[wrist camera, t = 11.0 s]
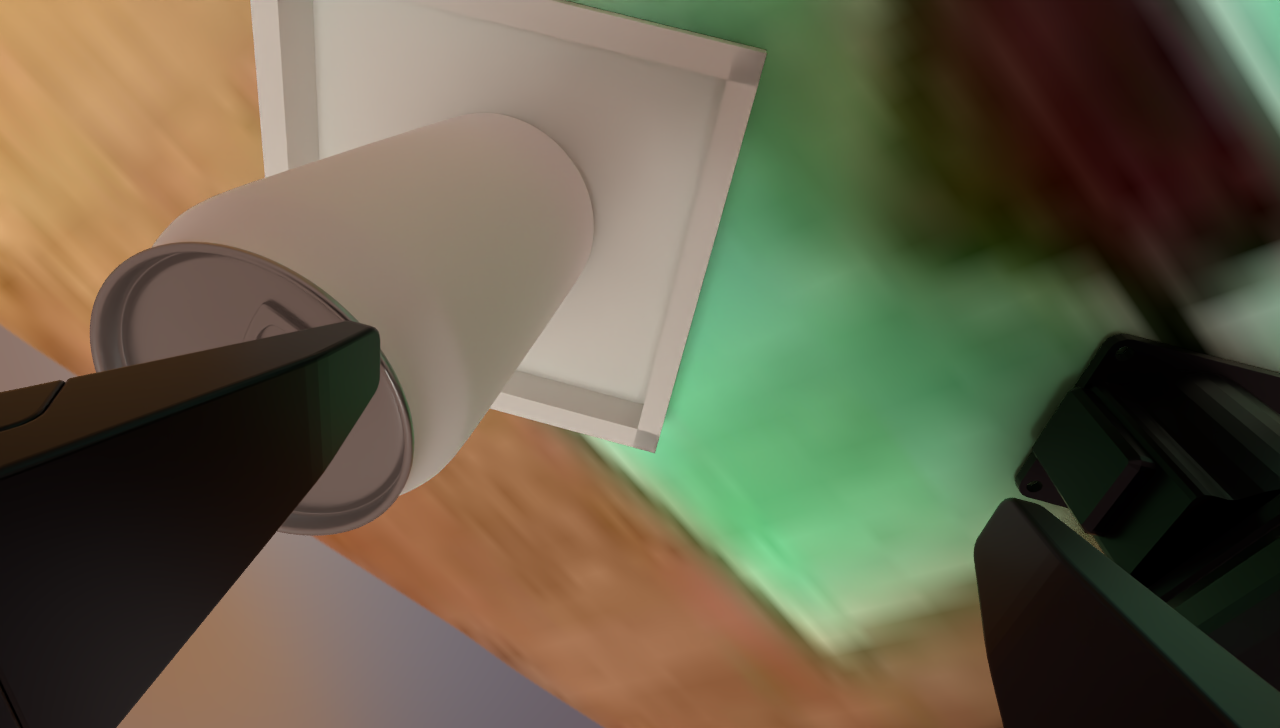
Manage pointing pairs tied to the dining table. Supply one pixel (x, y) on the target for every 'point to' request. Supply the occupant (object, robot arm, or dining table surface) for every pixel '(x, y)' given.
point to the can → (373, 286)
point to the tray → (579, 123)
